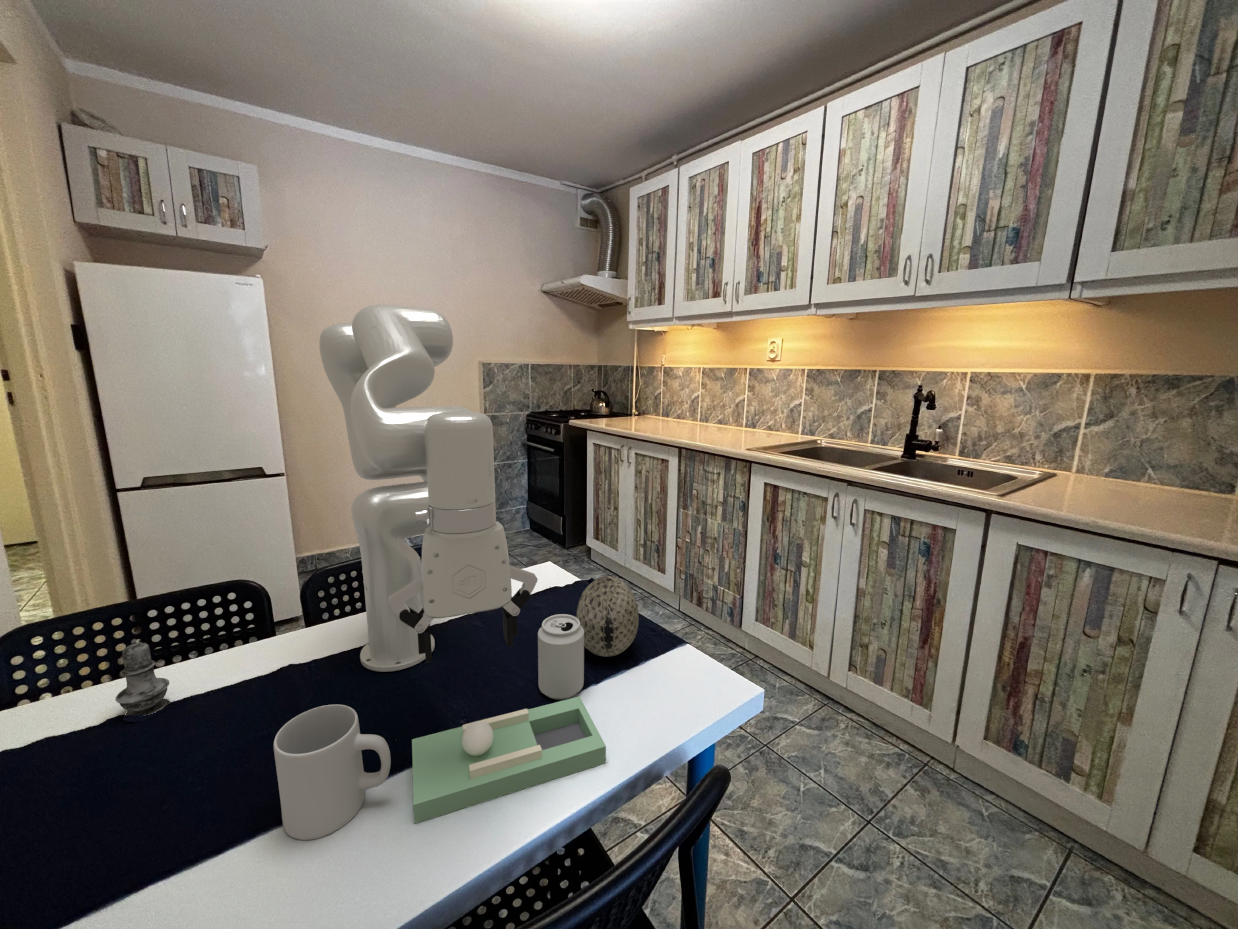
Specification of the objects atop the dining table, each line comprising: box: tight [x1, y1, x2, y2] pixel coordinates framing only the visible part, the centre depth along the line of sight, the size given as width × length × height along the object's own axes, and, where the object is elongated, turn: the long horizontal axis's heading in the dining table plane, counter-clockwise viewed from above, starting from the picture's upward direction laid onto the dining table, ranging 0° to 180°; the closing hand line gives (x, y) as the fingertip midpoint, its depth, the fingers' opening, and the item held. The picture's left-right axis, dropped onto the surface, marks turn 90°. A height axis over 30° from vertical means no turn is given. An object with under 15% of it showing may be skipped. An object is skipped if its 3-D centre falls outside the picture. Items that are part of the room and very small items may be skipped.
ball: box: [462, 720, 493, 756], centre depth 64 cm, size 4×4×4 cm
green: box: [411, 696, 607, 825], centre depth 66 cm, size 11×24×4 cm, turn 113°
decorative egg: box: [575, 575, 640, 658], centre depth 91 cm, size 12×12×15 cm
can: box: [537, 613, 585, 701], centre depth 81 cm, size 8×8×12 cm
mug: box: [273, 704, 392, 841], centre depth 58 cm, size 12×8×11 cm
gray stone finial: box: [115, 638, 171, 717], centre depth 73 cm, size 6×6×12 cm
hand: (469, 648), depth 61 cm, fingers open, 9 cm apart
